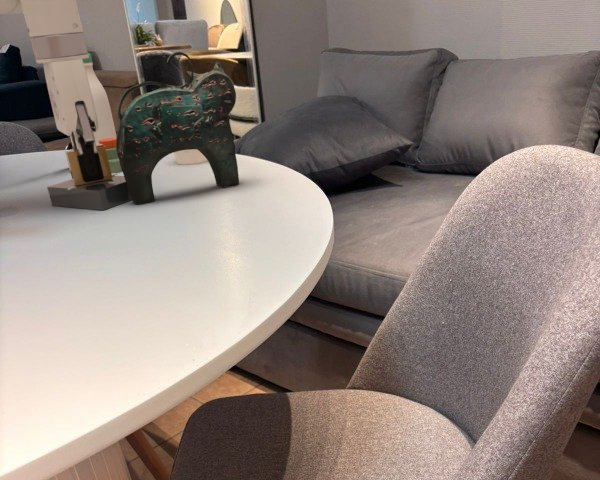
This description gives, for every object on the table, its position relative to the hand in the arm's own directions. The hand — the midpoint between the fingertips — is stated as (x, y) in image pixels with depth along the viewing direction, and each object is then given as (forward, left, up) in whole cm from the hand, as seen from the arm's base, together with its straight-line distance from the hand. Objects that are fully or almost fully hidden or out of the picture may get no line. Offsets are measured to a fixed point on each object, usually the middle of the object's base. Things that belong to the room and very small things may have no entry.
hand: (92, 178), depth 103 cm
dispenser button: (-18, +21, 0) cm, 28 cm away
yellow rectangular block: (0, 0, 0) cm, 0 cm away
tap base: (0, 0, -4) cm, 4 cm away
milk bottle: (-32, +31, -4) cm, 45 cm away
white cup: (-4, +29, -4) cm, 30 cm away
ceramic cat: (+13, +8, -4) cm, 16 cm away
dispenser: (-18, +21, -4) cm, 28 cm away
